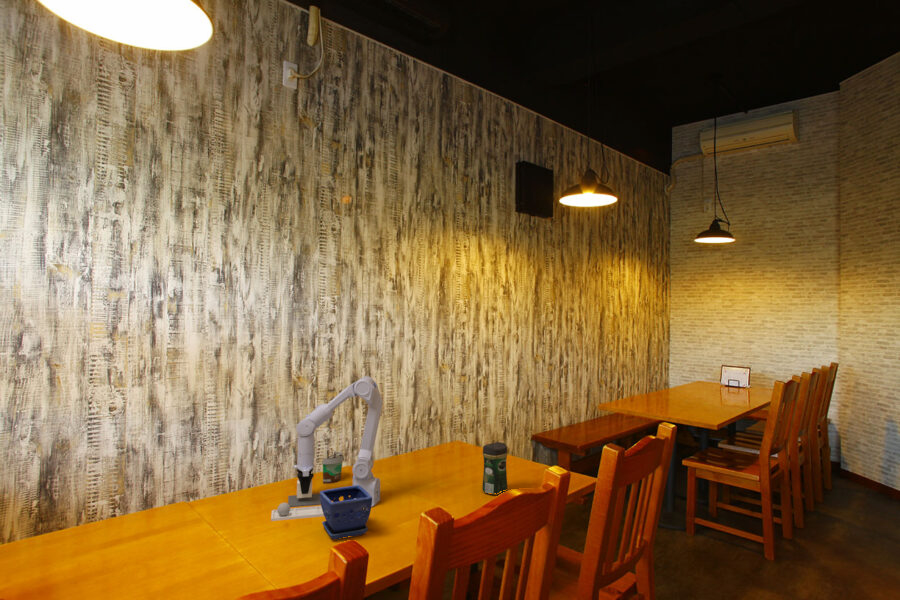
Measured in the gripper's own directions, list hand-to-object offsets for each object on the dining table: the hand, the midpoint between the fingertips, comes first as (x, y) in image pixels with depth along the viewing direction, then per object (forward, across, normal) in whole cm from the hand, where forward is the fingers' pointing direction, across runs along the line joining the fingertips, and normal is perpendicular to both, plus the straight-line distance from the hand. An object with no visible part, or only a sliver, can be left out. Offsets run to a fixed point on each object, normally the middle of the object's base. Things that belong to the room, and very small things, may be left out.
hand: (304, 491), depth 185 cm
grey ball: (+3, +13, -7) cm, 15 cm away
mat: (+4, 0, 0) cm, 4 cm away
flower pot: (+4, +31, +11) cm, 33 cm away
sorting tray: (+4, +13, 0) cm, 13 cm away
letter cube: (+2, 0, 0) cm, 2 cm away
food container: (+4, -22, +12) cm, 25 cm away
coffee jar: (+4, +7, +70) cm, 70 cm away
